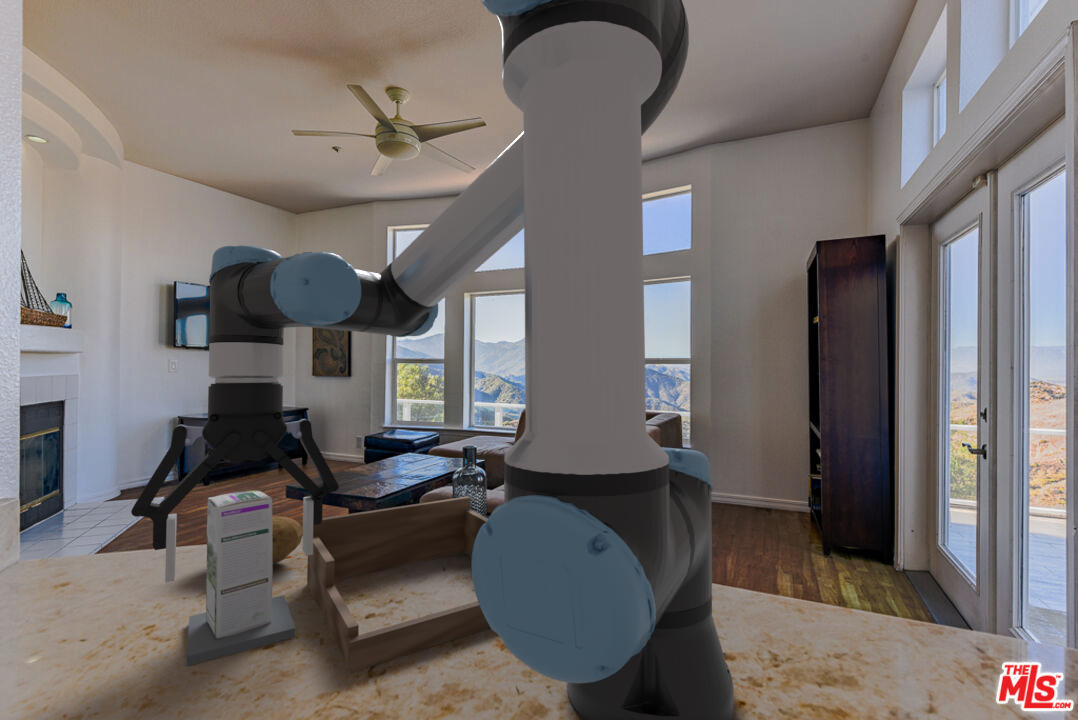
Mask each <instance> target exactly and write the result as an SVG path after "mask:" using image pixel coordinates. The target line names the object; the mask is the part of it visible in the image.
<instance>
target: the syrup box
mask: <svg viewBox="0 0 1078 720" xmlns="http://www.w3.org/2000/svg"><path fill="white" fill-rule="evenodd" d="M272 516H273V498H272V497H271V496H269V495H267V494H266V493H264V492H262V491H260V490H259V489H258V490H257V489H256V490H243V491H242V490H241V491H236V492H235V491H234V492H230V493H224V494H218V495H216V496H212V497H211V496H210V497H209V496H208V497H207V516H206V517H207V521H206V531H207V545H206V585H205V586H206V588H205V589H206V591H205V593H206V594H205V595H206V596H205V599H206V601H205V602H206V603H205V604H206V606H205V610H206V611H205V613H206V621H207V623H208V625H209V627H210V628H211V630H212V632H213V634H214V636H215V637H216V638H217V639H218V638H223V637H227V636H230V635H234V634H237V633H240V632H244V631H247V630H250V629H253V628H256V627H259V626H262V625H265V624H268V623H271V622H272V598H273V564H272Z"/></svg>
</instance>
